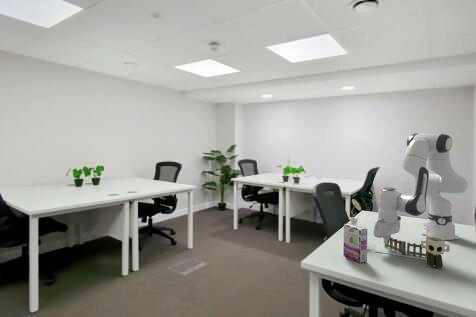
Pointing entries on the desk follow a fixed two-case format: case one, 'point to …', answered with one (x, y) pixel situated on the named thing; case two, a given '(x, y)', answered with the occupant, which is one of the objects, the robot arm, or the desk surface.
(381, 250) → the card
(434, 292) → the desk surface
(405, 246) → the fence panel with post
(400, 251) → the fence gate
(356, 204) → the flower in vase
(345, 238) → the candy bar box
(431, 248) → the character mug
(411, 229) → the desk surface
